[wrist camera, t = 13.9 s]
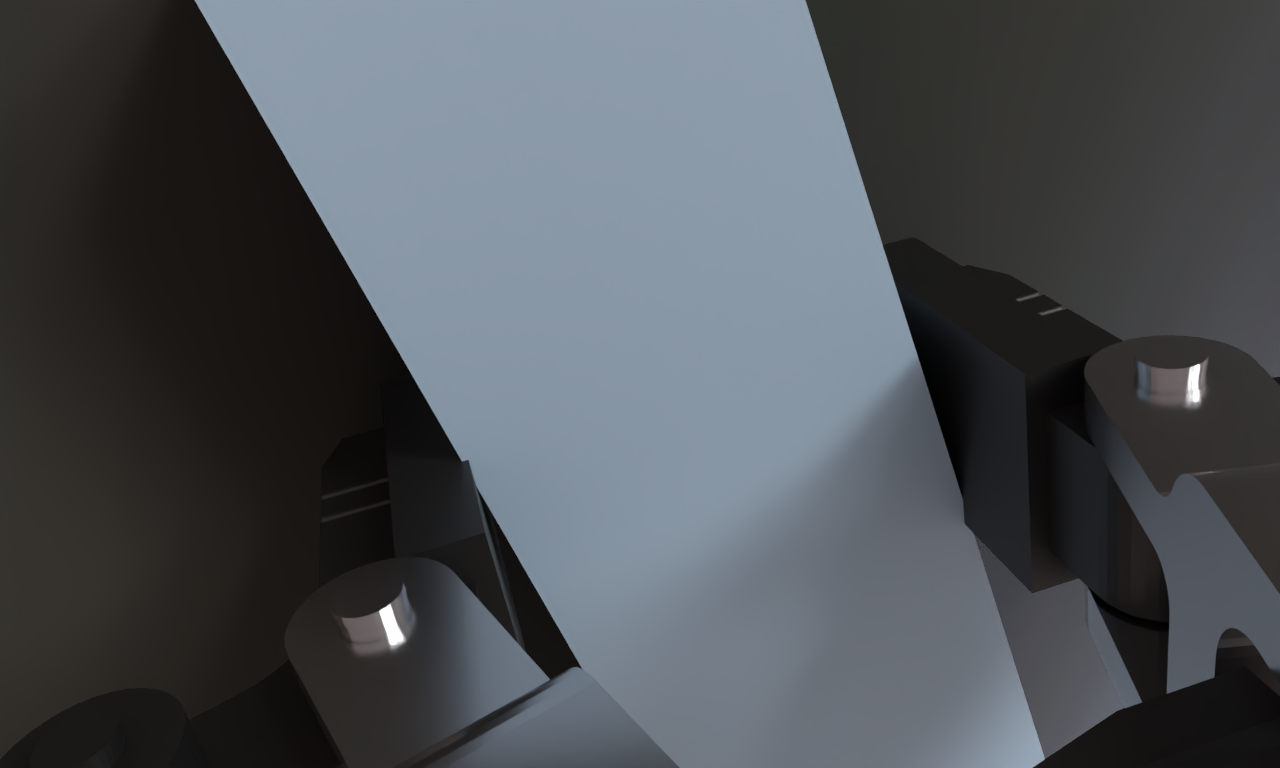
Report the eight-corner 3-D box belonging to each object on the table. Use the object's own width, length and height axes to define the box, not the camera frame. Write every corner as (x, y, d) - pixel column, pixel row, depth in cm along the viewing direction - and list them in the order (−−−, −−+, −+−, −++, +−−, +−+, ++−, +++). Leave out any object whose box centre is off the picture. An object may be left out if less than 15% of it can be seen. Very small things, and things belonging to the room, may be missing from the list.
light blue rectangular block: (202, -84, 10) (152, -73, 7) (605, -272, 10) (703, -327, 7) (681, 779, 15) (753, 964, 13) (937, 648, 16) (1058, 805, 13)
